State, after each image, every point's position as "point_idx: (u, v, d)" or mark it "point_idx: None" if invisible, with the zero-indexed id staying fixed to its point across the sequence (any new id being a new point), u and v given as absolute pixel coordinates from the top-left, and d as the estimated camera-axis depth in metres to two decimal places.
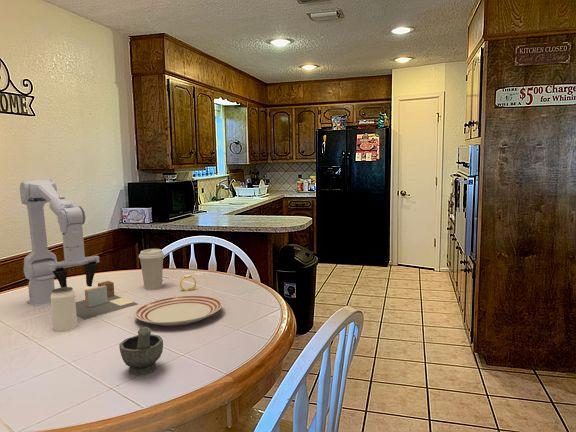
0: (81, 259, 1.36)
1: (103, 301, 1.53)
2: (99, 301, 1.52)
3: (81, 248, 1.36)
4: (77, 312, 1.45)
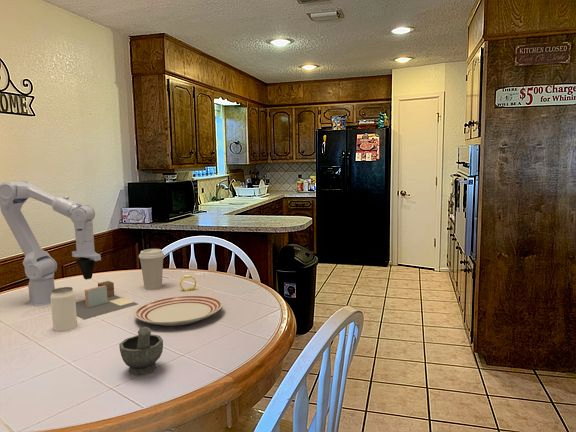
0: (79, 253, 1.51)
1: (103, 301, 1.53)
2: (99, 301, 1.52)
3: (79, 244, 1.51)
4: (77, 312, 1.45)
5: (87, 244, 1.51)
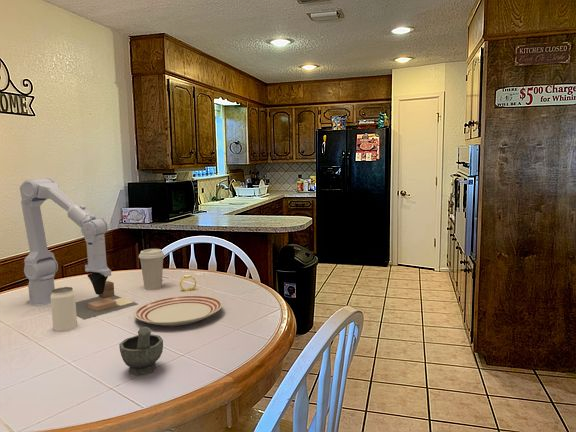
0: (90, 268, 1.47)
1: None
2: None
3: (90, 258, 1.46)
4: (77, 312, 1.45)
5: (98, 258, 1.47)
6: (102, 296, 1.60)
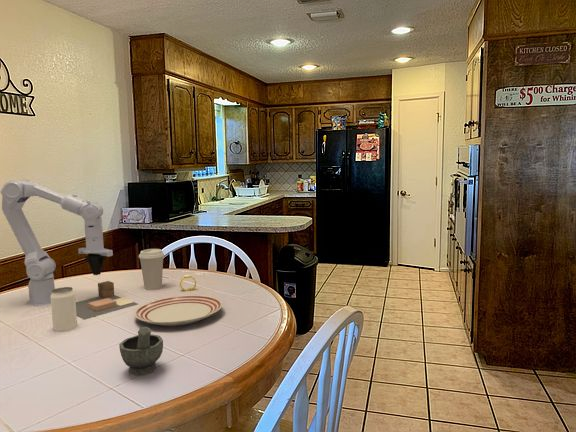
0: (90, 250, 1.54)
1: None
2: None
3: (91, 240, 1.54)
4: (77, 312, 1.45)
5: (98, 240, 1.55)
6: (102, 296, 1.60)
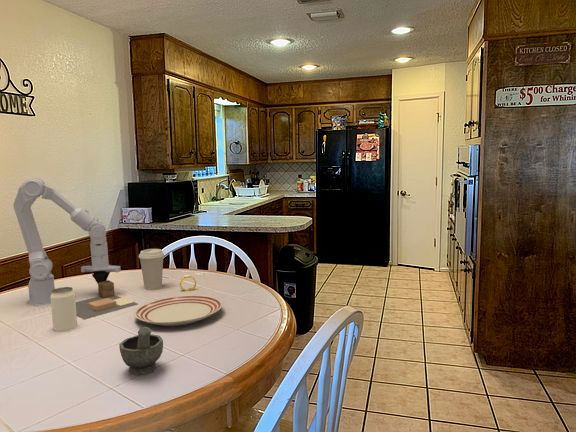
0: (98, 267, 1.61)
1: None
2: None
3: (98, 258, 1.60)
4: (77, 312, 1.45)
5: (105, 258, 1.62)
6: (102, 296, 1.60)
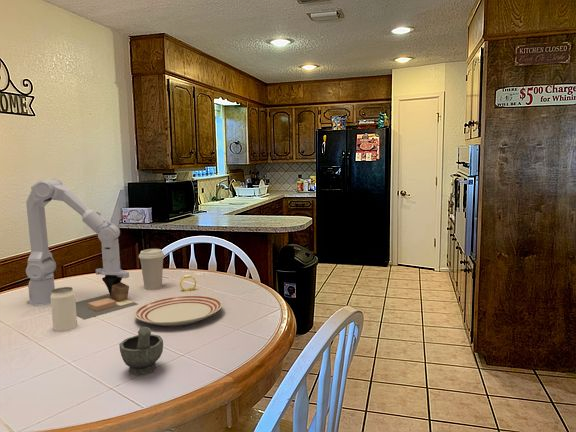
0: (107, 271, 1.55)
1: None
2: None
3: (107, 262, 1.54)
4: (77, 312, 1.45)
5: (115, 262, 1.55)
6: (116, 299, 1.55)
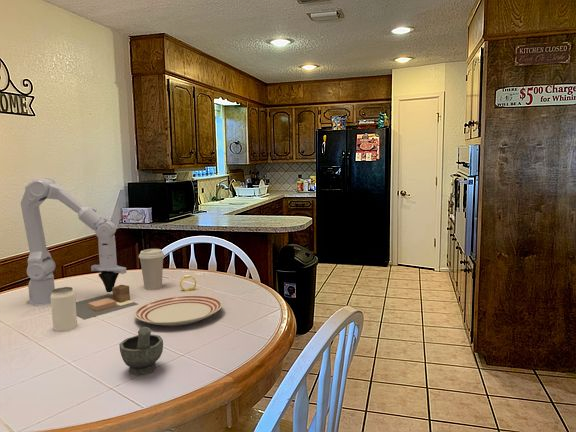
0: (104, 267, 1.56)
1: None
2: None
3: (104, 258, 1.56)
4: (77, 312, 1.45)
5: (112, 258, 1.57)
6: (118, 300, 1.55)
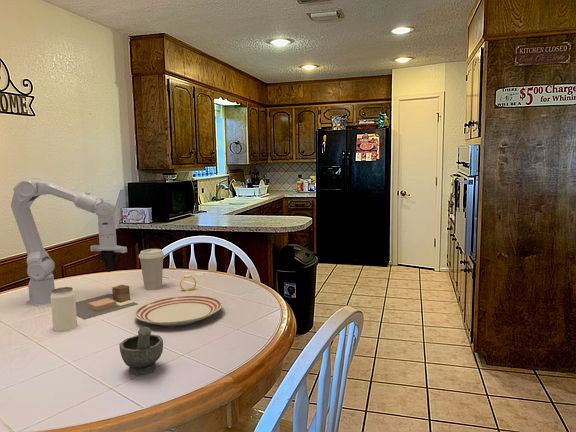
0: (104, 246, 1.57)
1: None
2: None
3: (105, 237, 1.56)
4: (77, 312, 1.45)
5: (112, 237, 1.58)
6: (118, 300, 1.55)
